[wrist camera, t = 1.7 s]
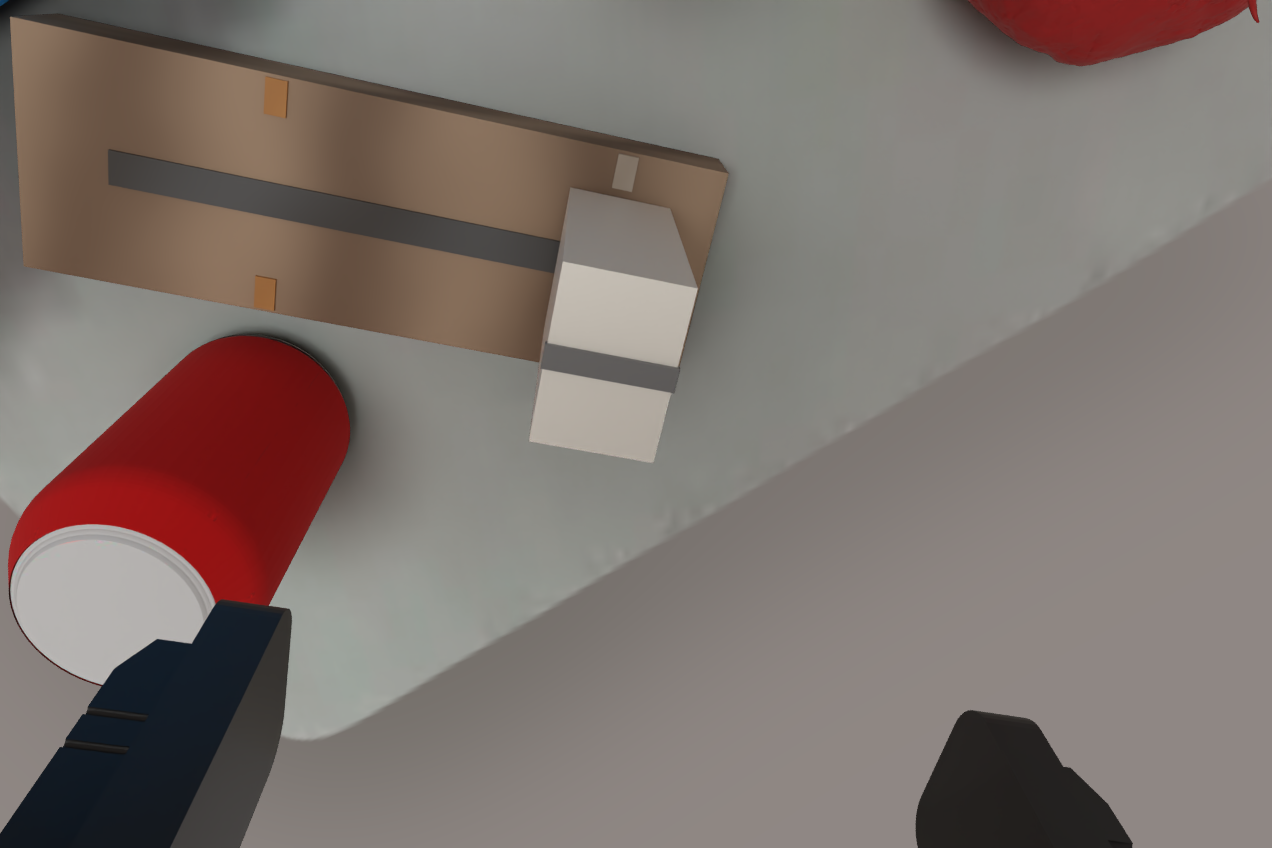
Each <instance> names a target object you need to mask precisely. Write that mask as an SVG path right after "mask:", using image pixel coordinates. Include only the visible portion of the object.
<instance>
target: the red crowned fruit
mask: <svg viewBox="0 0 1272 848" xmlns="http://www.w3.org/2000/svg"><path fill="white" fill-rule="evenodd" d="M968 1H969V2H970V3H971V4H972V5H973V6H974V8H975V9H977V10H978V11H979V12H981V13H982V14H983V15H984V16H986V17H987V18H988V19H989V20H990V21H991V22H992V23H993V24H994V25H995V26H997V27H998V28H999V29H1000V30H1001V31H1002V32H1003V33H1004V34H1006V35H1007V36H1009V37H1010V38H1012V39H1013V40H1015V41H1016V42H1017V43H1018V44H1020V45H1022V46H1025V47H1028V48H1031V49H1033V50H1035V51H1038V52H1041V53H1046V54H1049V55H1050V56H1051V57H1052V58H1053V59H1054V60H1055V61H1057V62H1060V63H1064V64H1069V65H1076V66H1086V65H1093V64H1097V63H1100V62H1104V61H1108V60H1111V59H1114V58H1120V57H1124V56H1127V55H1130V54H1134V53H1139V52H1143V51H1146V50H1150V49H1152V48H1155V47H1159V46H1164V45H1168V44H1172V43H1175V42H1177V41H1180V40H1184V39H1189V38H1192V37H1194V36H1196V35H1198V34H1199V33H1201V32H1204V31H1207V30H1209V29H1211V28H1213V27H1215V26H1217V25H1220V24H1222V23H1224V22H1226V21H1228V20H1230V19H1232V18H1233V17H1235V16H1237V15H1238V14H1239V13H1240V12H1242V11H1243V10H1245V9H1246V8H1247V7H1249V9H1250V12H1251V15H1252V17H1253V19H1254V20H1255V21H1256V22H1257V23H1259V19H1258V15H1257V4H1256V0H968Z"/></svg>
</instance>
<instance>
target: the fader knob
mask: <svg viewBox="0 0 1272 848" xmlns="http://www.w3.org/2000/svg"><path fill="white" fill-rule="evenodd" d="M697 290H698V288H697V285H696V282H695V279H694V276H693V273H692V270H691V267H690V264H689V262H688V259H687V256H686V253H685V250H684V247H683V244H682V241H681V238H680V236H679V233H678V230H677V227H676V224H675V221H674V218H673V215H672V212H671V210H670V208H665V207H661V206H656V205H651V204H646V203H642V202H637V201H632V200H628V199H623V198H618V197H613V196H609V195H604V194H599V193H595V192H590V191H585V190H580V189H576V188H571V187H570V192H569V198H568V203H567V208H566V214H565V219H564V224H563V230H562V235H561V240H560V246H559V251H558V256H557V262H556V267H555V272H554V278H553V283H552V288H551V294H550V299H549V304H548V310H547V315H546V320H545V326H544V333H543V340H542V347H541V355H540V362H539V369H538V377H537V384H536V391H535V399H534V406H533V413H532V421H531V428H530V435H529V441H530V442H535V443H541V444H547V445H552V446H558V447H564V448H570V449H575V450H581V451H587V452H592V453H598V454H604V455H610V456H615V457H621V458H627V459H632V460H638V461H644V462H650V463H654V459H655V455H656V451H657V447H658V443H659V439H660V435H661V431H662V427H663V423H664V419H665V415H666V412H667V408H668V404H669V400H670V396H671V393H674V392H675V388H676V384H677V380H678V376H679V372H680V367H679V366H678V364H679V361H680V357H681V353H682V349H683V345H684V341H685V337H686V333H687V329H688V325H689V321H690V317H691V313H692V310H693V306H694V302H695V298H696V294H697Z"/></svg>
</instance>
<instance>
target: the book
mask: <svg viewBox="0 0 1272 848" xmlns="http://www.w3.org/2000/svg"><path fill="white" fill-rule="evenodd" d="M7 1H9V0H0V6H1V5H3V4H4V3H6V2H7Z"/></svg>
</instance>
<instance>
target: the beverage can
mask: <svg viewBox="0 0 1272 848" xmlns="http://www.w3.org/2000/svg"><path fill="white" fill-rule="evenodd" d="M349 439H350V423H349V416H348V412H347V408H346V405H345V402H344V399H343V397H342V394H341V392H340V390H339V388H338V386H337V385H336V383H335V381H334V380H333V378H332V377H331V376H330V374H329V373H328V372H327V370H326V369H325V368H324V367H323V366H322V365H321V364H320V363H319V362H318V361H317V360H315V359H314V358H313V357H312V356H310V355H309V354H308V353H306V352H305V351H303V350H301V349H300V348H298V347H296V346H294V345H292V344H290V343H288V342H285V341H283V340H280V339H276V338H273V337H269V336H264V335H255V334H240V335H232V336H227V337H223V338H220V339H217V340H214V341H211V342H209V343H207V344H204V345H202V346H200V347H199V348H197V349H195V350H194V351H192V352H191V353H190V354H188V355H187V356H186V357H185V358H184V359H183V360H182V361H181V362H179V363H178V364H177V365H176V366H175V367H174V368H173V369H172V370H171V371H170V372H169V373H168V374H167V375H165V376H164V377H163V378H162V379H161V380H160V381H159V382H158V383H157V384H156V385H155V386H154V387H153V388H151V389H150V390H149V391H148V392H147V393H146V394H145V395H144V396H143V397H142V398H141V399H140V400H138V401H137V402H136V403H135V404H134V405H133V406H132V407H131V408H130V409H129V410H128V411H127V412H126V413H124V414H123V415H122V416H121V417H120V418H119V419H118V420H117V421H116V422H115V423H114V424H113V425H112V426H110V427H109V428H108V429H107V430H106V431H105V432H104V433H103V434H102V435H101V436H100V437H99V438H97V439H96V440H95V441H94V442H93V443H92V444H91V445H90V446H89V447H88V448H87V449H86V450H85V451H83V452H82V453H81V454H80V455H79V456H78V457H77V458H76V459H75V460H74V461H73V462H72V463H71V464H69V465H68V466H67V467H66V468H65V469H64V470H63V471H62V472H61V473H60V474H59V475H58V476H56V477H55V478H54V479H53V480H52V481H51V482H50V483H49V484H48V485H47V486H46V487H45V488H44V489H43V490H42V491H41V492H40V493H39V494H38V495H37V496H36V497H35V498H34V499H33V500H32V501H31V503H30V504H29V505H28V507H27V508H26V509H25V511H24V512H23V514H22V516H21V518H20V520H19V522H18V524H17V526H16V529H15V531H14V534H13V537H12V540H11V545H10V550H9V559H8V576H9V577H8V578H9V599H10V605H11V609H12V612H13V615H14V617H15V620H16V622H17V624H18V626H19V627H20V629H21V631H22V633H23V634H24V635H25V637H26V638H27V640H28V641H29V642H30V643H31V644H32V645H33V646H34V648H35V649H36V650H38V651H39V653H40V654H42V655H43V656H44V657H45V658H46V659H47V660H49V661H50V662H52V663H53V664H54V665H56V666H57V667H59V668H60V669H62V670H64V671H65V672H67V673H69V674H71V675H73V676H75V677H77V678H79V679H82V680H84V681H87V682H90V683H93V684H96V685H99V686H102V685H103V684H104V683H105V681H106V680H107V678H108V677H109V675H110V674H111V672H112V671H113V669H114V668H116V667H117V666H118V665H120V664H121V663H123V662H124V661H126V660H127V659H129V658H130V657H131V656H133V655H134V654H136V653H137V652H139V651H140V650H142V649H143V648H145V647H146V646H147V645H149V644H150V643H152V642H153V641H155V640H156V639H162V640H169V641H176V642H183V643H191V644H192V642H193V640H194V639H195V637H196V635H197V634H198V632H199V630H200V629H201V627H202V625H203V624H204V622H205V620H206V619H207V617H208V615H209V614H210V612H211V610H212V609H213V607H214V606H215V604H216V603H217V602H218V601H219V600H221V599H225V600H232V601H239V602H245V603H252V604H259V605H266V606H269V604H270V602H271V600H272V598H273V596H274V594H275V592H276V590H277V588H278V586H279V584H280V583H281V581H282V579H283V577H284V575H285V573H286V571H287V569H288V567H289V565H290V563H291V561H292V559H293V557H294V555H295V554H296V552H297V550H298V548H299V546H300V544H301V542H302V540H303V538H304V536H305V534H306V532H307V530H308V528H309V526H310V524H311V523H312V521H313V519H314V517H315V515H316V513H317V511H318V509H319V507H320V505H321V503H322V501H323V499H324V497H325V495H326V494H327V492H328V490H329V488H330V486H331V484H332V482H333V480H334V478H335V476H336V474H337V472H338V470H339V468H340V466H341V464H342V463H343V461H344V458H345V456H346V453H347V449H348V445H349Z"/></svg>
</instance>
